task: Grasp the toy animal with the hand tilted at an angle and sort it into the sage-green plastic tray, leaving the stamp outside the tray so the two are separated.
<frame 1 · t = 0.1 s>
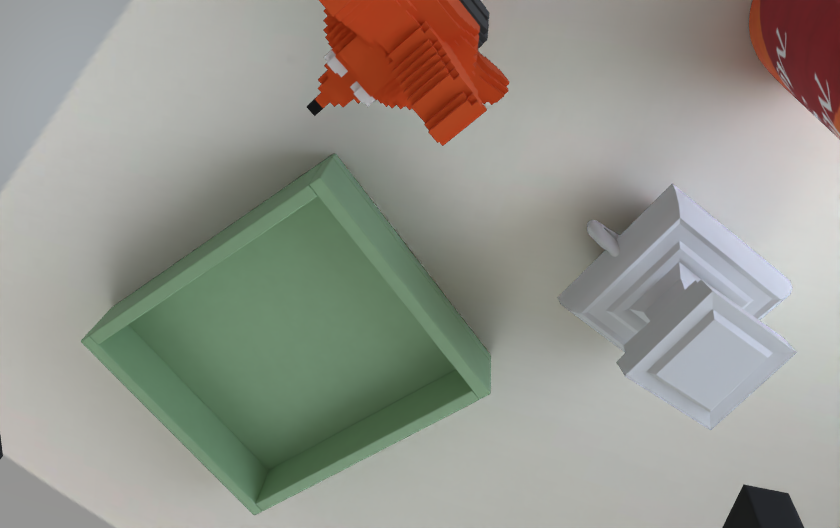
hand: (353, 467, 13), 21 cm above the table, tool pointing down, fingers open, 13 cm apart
paper cup: (825, 10, 28), on the table
tray: (299, 331, 37), on the table
stamp: (659, 261, 33), on the table
toy animal: (406, 11, 30), on the table
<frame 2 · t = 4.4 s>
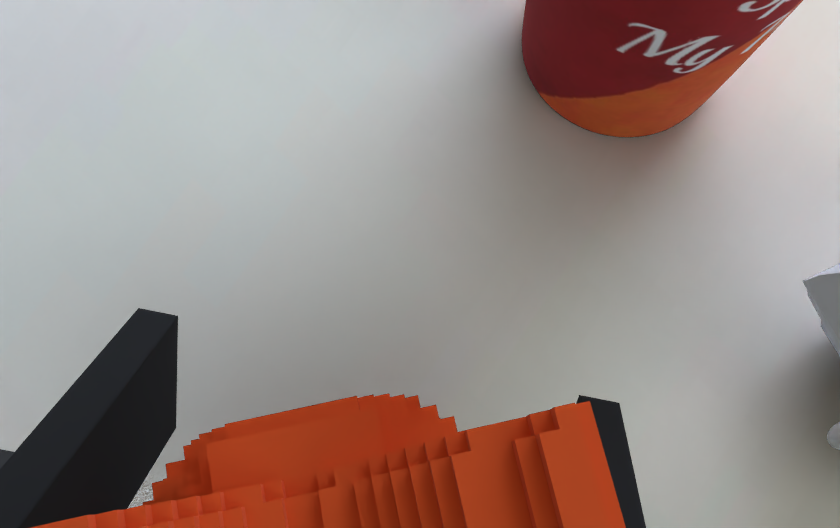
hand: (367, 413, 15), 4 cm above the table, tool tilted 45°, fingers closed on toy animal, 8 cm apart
paper cup: (617, 52, 22), on the table
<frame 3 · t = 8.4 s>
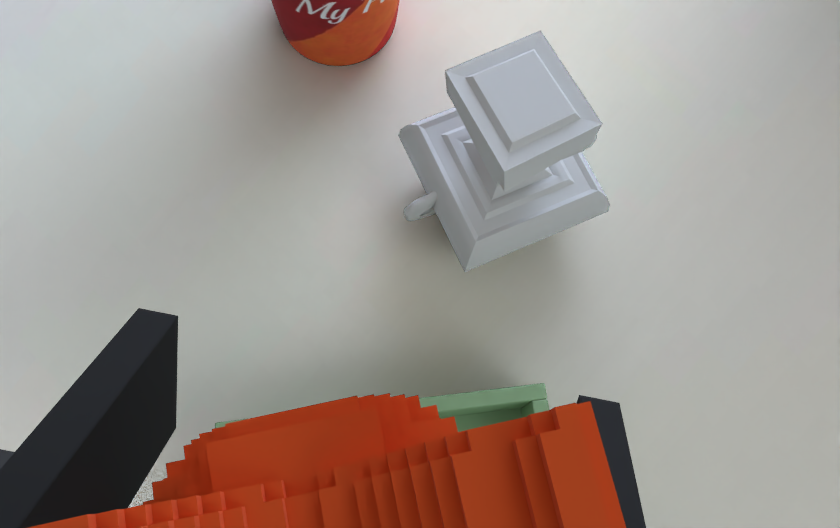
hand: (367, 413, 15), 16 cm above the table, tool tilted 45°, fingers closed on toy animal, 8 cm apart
paper cup: (339, 17, 36), on the table
stamp: (493, 196, 34), on the table
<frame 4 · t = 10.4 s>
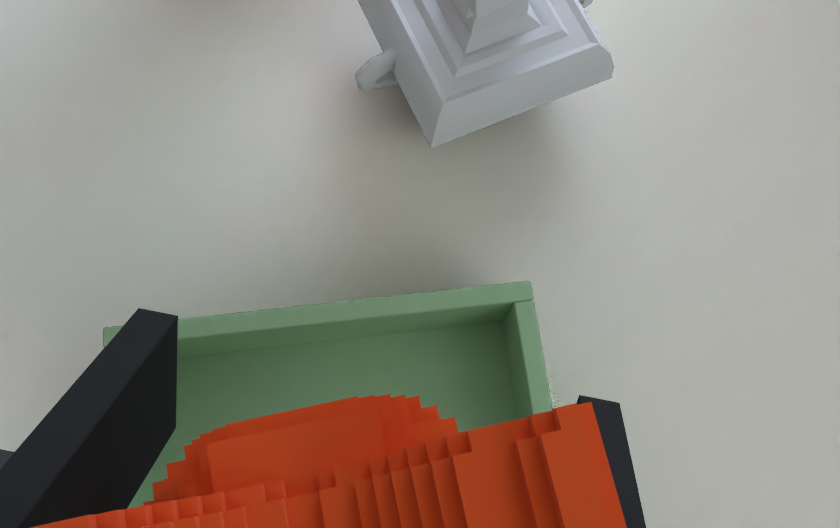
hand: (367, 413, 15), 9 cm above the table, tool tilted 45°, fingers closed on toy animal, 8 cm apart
stamp: (471, 73, 28), on the table
when the fingers open (4 cm above the table, at t = 12.3 s): toy animal stays where it is, resting on tray.
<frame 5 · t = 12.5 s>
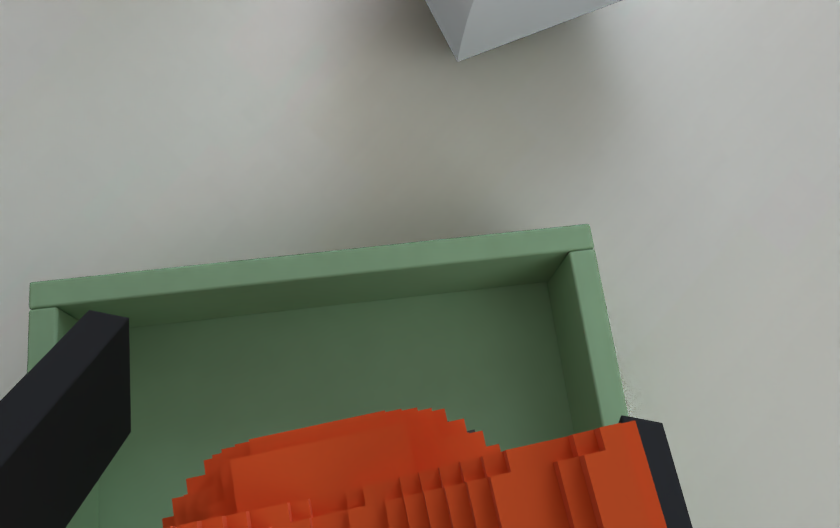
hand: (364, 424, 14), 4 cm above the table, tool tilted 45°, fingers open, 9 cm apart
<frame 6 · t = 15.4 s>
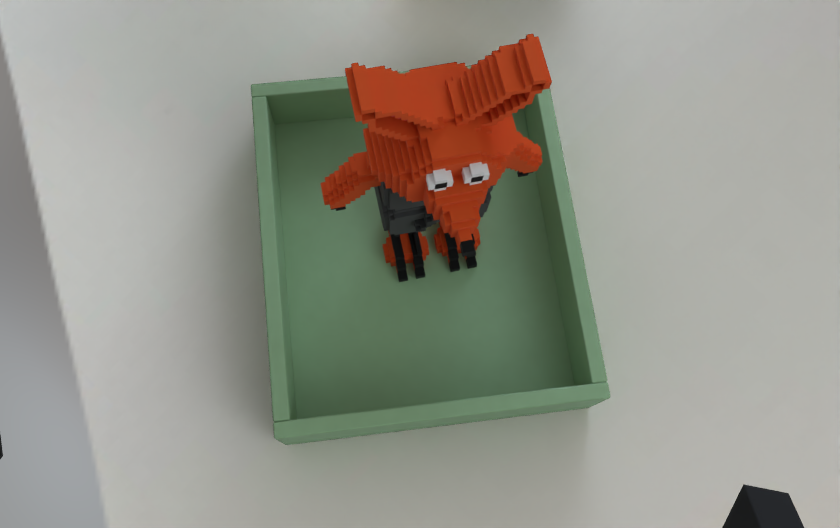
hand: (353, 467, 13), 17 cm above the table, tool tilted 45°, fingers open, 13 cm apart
tray: (417, 257, 32), on the table
toy animal: (432, 255, 32), resting on tray
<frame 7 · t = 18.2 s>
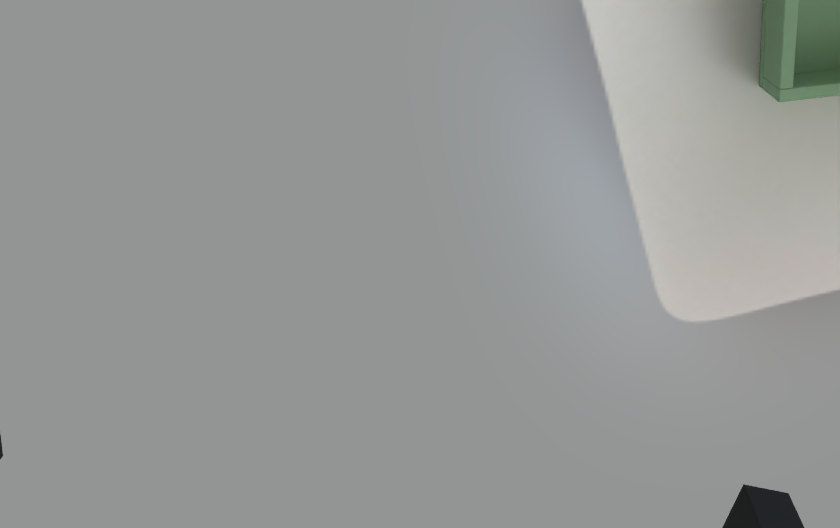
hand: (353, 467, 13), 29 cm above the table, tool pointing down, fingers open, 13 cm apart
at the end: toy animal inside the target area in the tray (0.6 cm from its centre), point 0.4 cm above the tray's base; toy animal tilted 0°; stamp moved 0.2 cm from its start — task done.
